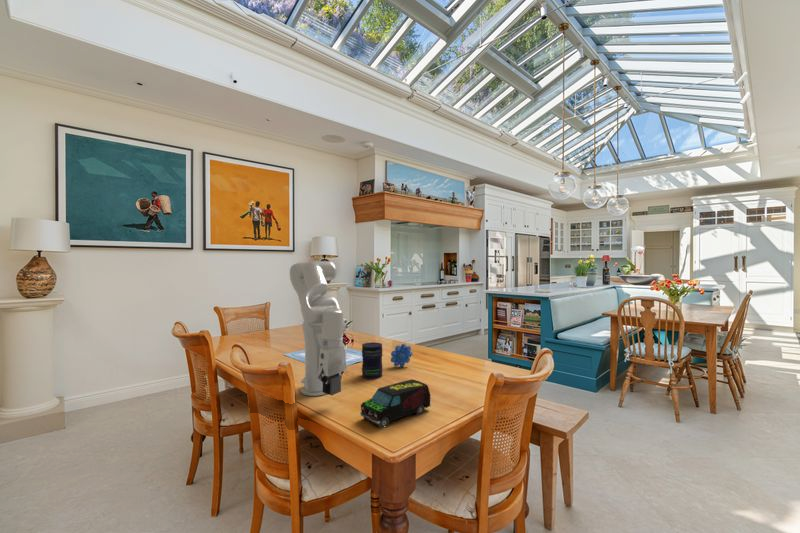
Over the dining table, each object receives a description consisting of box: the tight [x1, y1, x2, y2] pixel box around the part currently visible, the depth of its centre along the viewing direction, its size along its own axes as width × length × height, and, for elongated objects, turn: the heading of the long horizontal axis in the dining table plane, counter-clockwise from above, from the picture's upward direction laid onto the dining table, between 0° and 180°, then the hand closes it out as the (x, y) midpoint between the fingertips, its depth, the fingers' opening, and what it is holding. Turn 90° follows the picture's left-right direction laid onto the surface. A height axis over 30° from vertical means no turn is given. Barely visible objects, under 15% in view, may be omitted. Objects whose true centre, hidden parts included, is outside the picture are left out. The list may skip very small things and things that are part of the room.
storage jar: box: [361, 341, 384, 380], centre depth 170 cm, size 10×10×15 cm
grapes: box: [390, 343, 413, 367], centre depth 186 cm, size 12×7×12 cm, turn 100°
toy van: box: [359, 379, 432, 429], centre depth 126 cm, size 11×25×10 cm, turn 129°
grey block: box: [325, 374, 342, 396], centre depth 132 cm, size 5×4×6 cm
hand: (331, 390), depth 132 cm, fingers closed on grey block, 4 cm apart
